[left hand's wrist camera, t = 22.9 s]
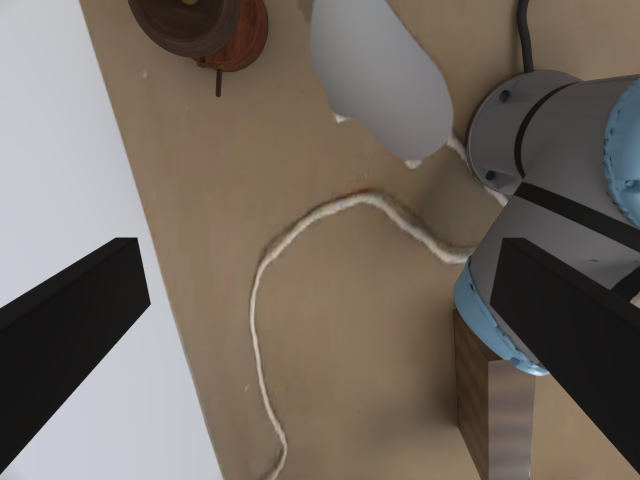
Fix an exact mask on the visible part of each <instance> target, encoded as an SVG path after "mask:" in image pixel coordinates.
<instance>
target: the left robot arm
mask: <svg viewBox="0 0 640 480" xmlns="http://www.w3.org/2000/svg"><path fill="white" fill-rule="evenodd" d="M528 1H529V0H520V1H519V6H518V12H517V24H518V30H519V34H520V39H521V45H522V55H523V64H524V73H521V74H518V75H515V76H513V77H511V78H509V79H507V80H505V81H503V82H501V83H500V84H499V85H497V86H496V87H495V88H493V89H492V90H491V91H490V92H489V93H488V94H487V95H486V96H485V97H484V98H483V100H482V101H481V102H480V104H479V105H478V106H477V108H476V110H475V112H474V113H473V116H472V118H471V120H470V123H469V126H468V129H467V134H466V143H465V148H466V156H467V160H468V163H469V166H470V168H471V170H472V172H473V173H474V175H475V176H476V177H477V178H478V180H479V181H480V182H482V183H483V184H484V185H486V186H487V187H489V188H491V189H493V190H495V191H497V192H500V193H503V194H507V195H512V197H511V198H510V200H509V201H508V203H507V204H506V206H505V207H504V209H503V210H502V212H501V213H500V215H499V216H498V218H497V219H496V220H495V222H494V223H493V225H492V226H491V228H490V229H489V231H488V232H487V234H486V235H485V237H484V238H483V240H482V241H481V243H480V244H479V246H478V247H477V249H476V250H475V251H474V253H473V254H472V255H471V256H469V258H468V259H467V261H466V266H465V268H464V270H463V271H462V273H461V275H460V277H459V278H458V280H457V282H456V283H455V286H454V290H453V294H454V299H455V305H456V307H457V309H458V311H459V313H460V315H461V316H462V318H463V319H464V321H465V322H466V324H467V325H468V326H469V327H470V329H471V330H472V331H473V332H474V333H475V334H476V335H477V336H478V337H479V338H480V339H481V340H482V341H483V342H484V343H485V344H486V345H487V346H488V347H489V348H490V349H491V350H492V351H494V352H495V353H496V354H497V355H499V356H500V357H501V358H503V359H504V360H509V361H510V362H511V363H512V364H513V365H514V366H515V367H516V368H518V369H520V370H522V371H524V372H526V373H528V374H532V375H535V376H544V375H546V374H551V375H552V376H553V377H554V378H555V379H556V380H557V382H558V383H559V384H560V385H561V386H562V387H563V388H564V390H565V391H566V392H567V393H568V394H569V395H570V396H571V397H572V399H573V400H574V401H575V402H576V403H577V404H578V405H579V407H580V408H581V409H582V410H583V411H584V412H585V413H586V414H587V416H588V417H589V418H590V419H591V420H592V421H593V422H594V424H595V425H596V426H597V427H598V428H599V429H600V430H601V431H602V433H603V434H604V435H605V436H606V437H607V438H608V439H609V441H610V442H611V443H612V444H613V445H614V446H615V447H616V448H617V450H618V451H619V452H620V453H621V454H622V455H623V456H624V457H625V459H626V460H627V461H628V462H629V463H630V464H631V465H632V467H633V468H634V469H635V470H636V471H637V472H638V473H639V474H640V74H636V75H628V76H621V77H613V78H605V79H598V80H590V81H583V80H580V79H578V78H576V77H574V76H571V75H569V74H567V73H564V72H560V71H553V70H536V71H533V61H532V51H531V41H530V35H529V30H528V26H527V19H526V12H527V6H528ZM150 305H151V303H150V298H149V293H148V288H147V283H146V278H145V273H144V268H143V263H142V258H141V254H140V249H139V244H138V239H137V238H114V239H113V240H111V241H109V242H108V243H106V244H105V245H103V246H101V247H100V248H98V249H96V250H95V251H93V252H91V253H90V254H88V255H87V256H85V257H83V258H82V259H80V260H79V261H77V262H75V263H74V264H72V265H70V266H69V267H67V268H65V269H64V270H62V271H60V272H59V273H57V274H56V275H54V276H52V277H51V278H49V279H47V280H46V281H44V282H43V283H41V284H39V285H38V286H36V287H34V288H33V289H31V290H29V291H28V292H26V293H25V294H23V295H21V296H20V297H18V298H16V299H15V300H13V301H11V302H10V303H8V304H7V305H5V306H3V307H2V308H0V474H1V473H2V472H3V471H4V470H5V469H6V468H7V467H8V465H9V464H10V463H11V462H12V461H13V460H14V459H15V457H16V456H17V455H18V454H19V453H20V452H21V451H22V450H23V448H24V447H25V446H26V445H27V444H28V443H29V442H30V441H31V439H32V438H33V437H34V436H35V435H36V434H37V432H38V431H39V430H40V429H41V428H42V427H43V426H44V425H45V423H46V422H47V421H48V420H49V419H50V418H51V417H52V416H53V414H54V413H55V412H56V411H57V410H58V409H59V408H60V407H61V405H62V404H63V403H64V402H65V401H66V400H67V399H68V397H69V396H70V395H71V394H72V393H73V392H74V391H75V390H76V388H77V387H78V386H79V385H80V384H81V383H82V382H83V380H84V379H85V378H86V377H87V376H88V375H89V374H90V373H91V371H92V370H93V369H94V368H95V367H96V366H97V365H98V363H99V362H100V361H101V360H102V359H103V358H104V357H105V356H106V354H107V353H108V352H109V351H110V350H111V349H112V348H113V346H114V345H115V344H116V343H117V342H118V341H119V340H120V339H121V337H122V336H123V335H124V334H125V333H126V332H127V331H128V329H129V328H130V327H131V326H132V325H133V324H134V323H135V322H136V320H137V319H138V318H139V317H140V316H141V315H142V314H143V313H144V311H145V310H146V309H147V308H148V307H149V306H150Z"/></svg>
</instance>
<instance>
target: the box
mask: <svg viewBox="0 0 640 480" xmlns="http://www.w3.org/2000/svg"><path fill="white" fill-rule="evenodd" d="M453 314H454V336H455V358H456V381H457V403H458V425H459V430H460V432H461V435H462V437H463V439H464V441H465V444H466V446H467V448H468V451H469V453H470V455H471V457H472V460H473V462H474V464H475V466H476V469H477V471H478V473H479V476H480V478H481V480H529V475H530V458H531V441H532V425H533V408H534V391H535V375H532V374H528V373H526V372H524V371H522V370H520V369H518V368H516V367H515V366H514V365H513V364H512V363H511V362H510V361H509V360H504V359H503V358H501V357H500V356H499V355H497V354H496V353H495V352H494V351H492V350H491V349H490V348H489V347H488V346H487V345H486V344H485V343H484V342H483V341H482V340H481V339H480V338H479V337H478V336H477V335H476V334H475V333H474V332H473V331H472V330H471V329H470V327H469V326H468V325H467V324H466V322H465V321H464V319H463V318H462V316H461V315H460V313H459V311H458V310H453Z"/></svg>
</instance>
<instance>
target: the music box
mask: <svg viewBox="0 0 640 480" xmlns="http://www.w3.org/2000/svg"><path fill="white" fill-rule="evenodd" d="M128 3H129V6H130V8H131V11H132V13H133V15H134V17H135V19H136V21H137V22H138V24H139V25H140V27H141V28H142V29H143V31H144V32H145V33H146V34H147V35H148V36H149V37H150V38H151V39H152V40H153V41H154V42H155V43H156V44H158V45H159V46H160V47H162V48H163V49H165V50H167V51H169V52H171V53H173V54H176V55H179V56H183V57H191V58H192V59H194V60H195V61H197V62H198V64H197V65H198V66H200V67H202V68H212V69H214V70H217V78H216V96H217V97H220V96H221V80H222V71H223V72H233V71H238V70H241V69H244V68H246V67H247V66H249V65H250V64H252V63H253V62H254V61H255V60H256V59H257V58H258V56H259V55H260V53H261V52H262V50H263V48H264V45H265V43H266V39H267V35H268V16H267V11H266V7H265V4H264V2H263V0H128Z"/></svg>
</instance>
